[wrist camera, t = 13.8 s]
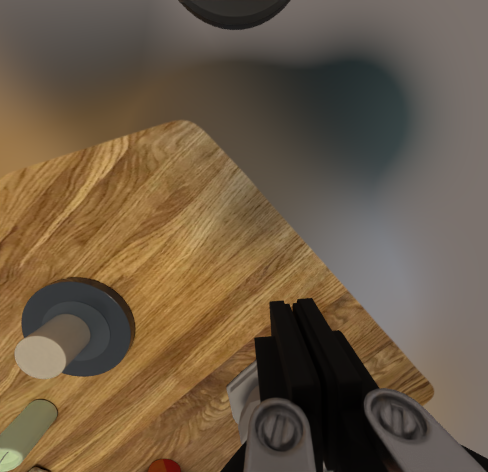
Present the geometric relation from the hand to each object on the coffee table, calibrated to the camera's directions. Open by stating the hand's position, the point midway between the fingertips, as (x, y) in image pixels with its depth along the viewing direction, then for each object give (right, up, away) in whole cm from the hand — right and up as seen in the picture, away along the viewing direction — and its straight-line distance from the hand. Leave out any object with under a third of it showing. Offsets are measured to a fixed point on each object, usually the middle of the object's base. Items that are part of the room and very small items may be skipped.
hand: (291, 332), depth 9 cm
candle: (-36, -26, +31) cm, 54 cm away
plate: (-27, -10, +28) cm, 40 cm away
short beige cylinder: (-28, -11, +26) cm, 40 cm away
